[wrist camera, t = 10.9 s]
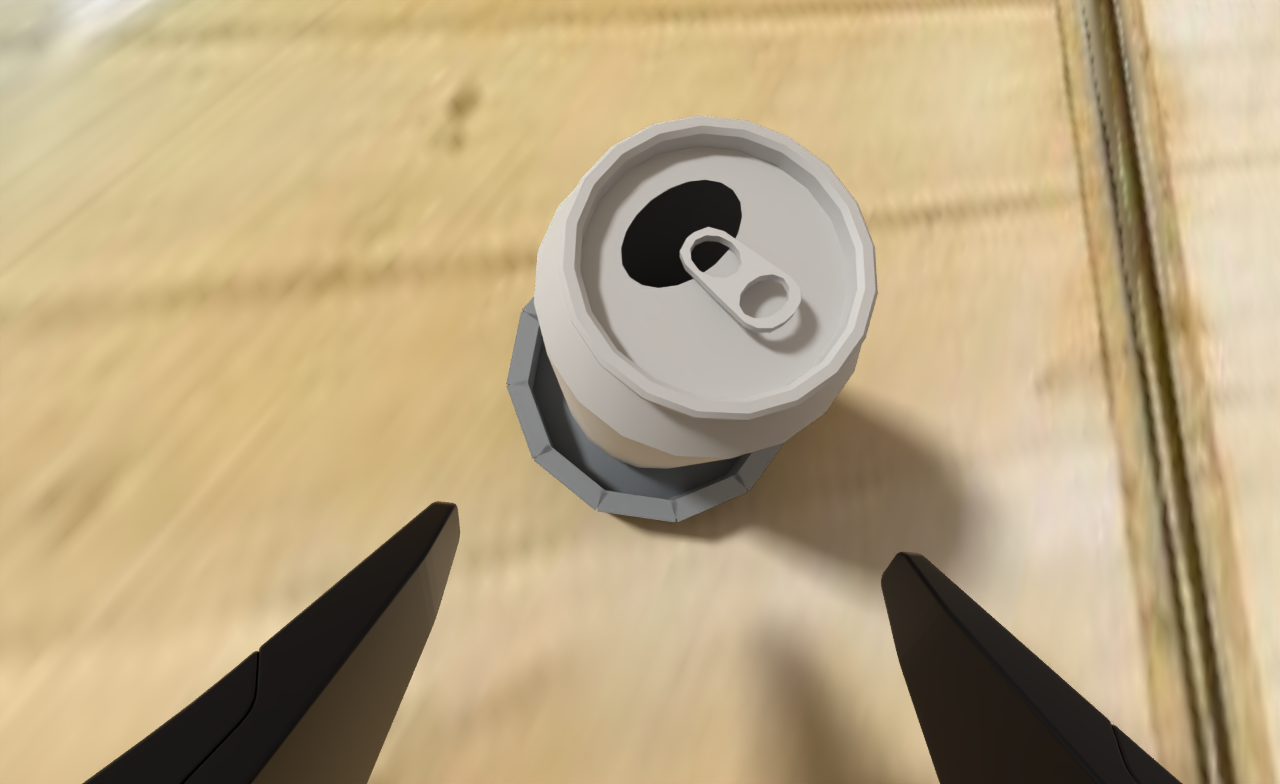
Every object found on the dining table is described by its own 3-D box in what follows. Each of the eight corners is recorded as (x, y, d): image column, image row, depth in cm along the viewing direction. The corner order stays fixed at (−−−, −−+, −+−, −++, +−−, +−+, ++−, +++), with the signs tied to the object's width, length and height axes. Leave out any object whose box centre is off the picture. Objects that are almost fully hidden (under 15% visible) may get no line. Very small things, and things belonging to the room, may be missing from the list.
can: (656, 268, 21) (726, 13, 10) (771, 388, 21) (993, 272, 9) (529, 376, 20) (431, 229, 8) (649, 507, 20) (725, 550, 8)
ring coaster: (818, 454, 21) (842, 451, 19) (574, 558, 19) (571, 567, 17) (717, 229, 23) (729, 204, 21) (483, 307, 21) (471, 288, 19)
